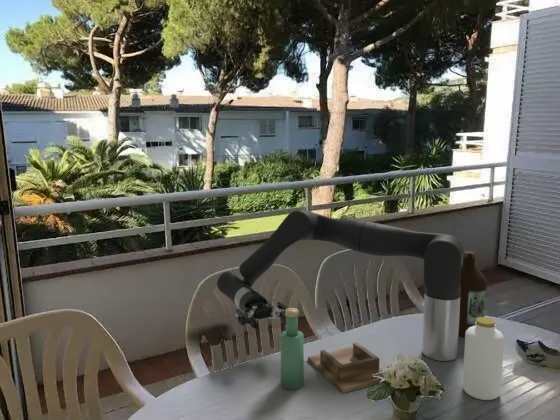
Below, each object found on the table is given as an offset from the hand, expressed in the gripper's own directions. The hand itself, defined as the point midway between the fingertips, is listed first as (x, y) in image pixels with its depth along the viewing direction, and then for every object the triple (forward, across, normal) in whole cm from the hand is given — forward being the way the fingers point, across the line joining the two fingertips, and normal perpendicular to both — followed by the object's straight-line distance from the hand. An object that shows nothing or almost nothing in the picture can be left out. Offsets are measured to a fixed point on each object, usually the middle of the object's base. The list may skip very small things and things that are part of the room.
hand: (272, 323), depth 124 cm
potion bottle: (+34, +39, +11) cm, 53 cm away
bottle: (+12, 0, +11) cm, 16 cm away
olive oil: (+7, +61, +11) cm, 63 cm away
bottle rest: (+11, +16, +11) cm, 23 cm away
